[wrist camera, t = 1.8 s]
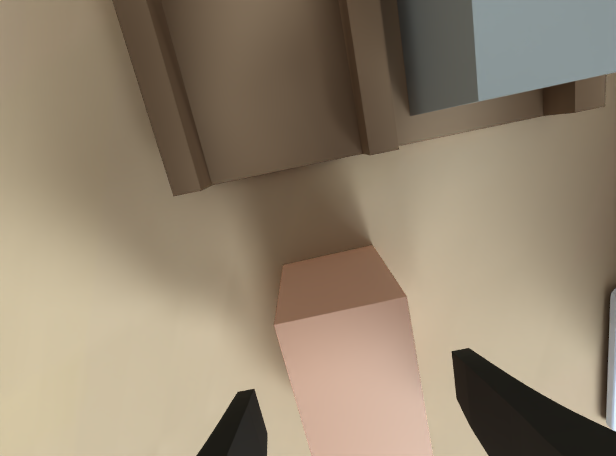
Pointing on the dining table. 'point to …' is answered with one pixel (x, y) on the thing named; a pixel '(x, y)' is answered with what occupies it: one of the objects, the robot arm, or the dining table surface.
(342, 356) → the plug block
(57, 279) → the dining table surface
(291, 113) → the comb rack
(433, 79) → the slate block
